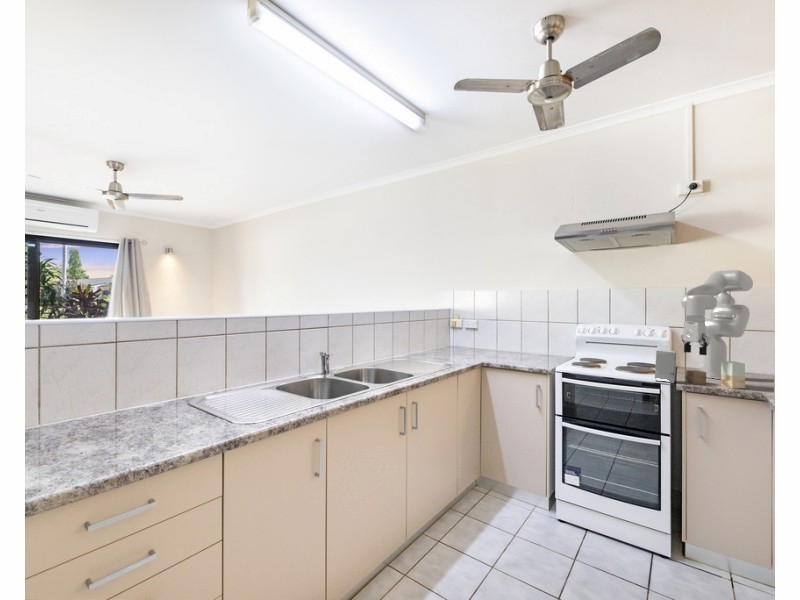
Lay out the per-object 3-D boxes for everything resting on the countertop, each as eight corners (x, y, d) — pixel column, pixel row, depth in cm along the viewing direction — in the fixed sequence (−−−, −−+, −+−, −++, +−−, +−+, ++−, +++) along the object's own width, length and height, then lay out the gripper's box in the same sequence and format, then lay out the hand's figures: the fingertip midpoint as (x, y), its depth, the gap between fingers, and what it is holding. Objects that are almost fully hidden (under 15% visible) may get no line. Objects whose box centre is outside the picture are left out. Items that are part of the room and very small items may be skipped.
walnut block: (684, 381, 192) (684, 369, 192) (696, 381, 192) (696, 369, 192) (694, 384, 186) (694, 372, 186) (706, 384, 186) (706, 372, 186)
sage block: (721, 373, 182) (721, 361, 182) (733, 373, 182) (733, 361, 182) (732, 376, 176) (732, 363, 176) (745, 376, 176) (745, 363, 176)
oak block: (721, 386, 182) (721, 373, 182) (733, 386, 182) (733, 373, 182) (732, 388, 176) (732, 376, 176) (744, 388, 176) (745, 376, 176)
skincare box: (654, 381, 192) (654, 350, 192) (656, 379, 197) (656, 349, 197) (675, 383, 186) (675, 351, 186) (676, 381, 192) (676, 350, 192)
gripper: (675, 318, 197) (674, 351, 197) (702, 320, 180) (701, 355, 180) (689, 319, 197) (689, 351, 197) (717, 320, 180) (717, 356, 180)
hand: (694, 353), depth 188 cm, fingers open, 9 cm apart
